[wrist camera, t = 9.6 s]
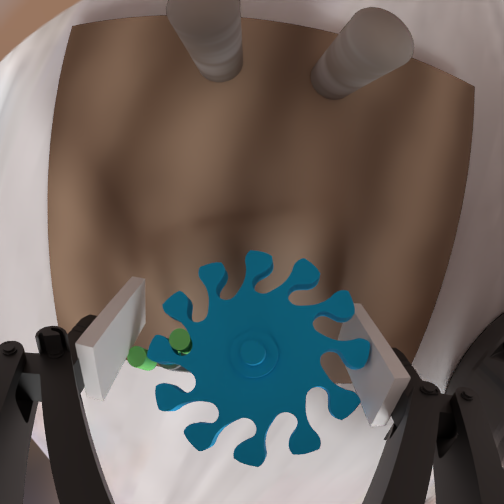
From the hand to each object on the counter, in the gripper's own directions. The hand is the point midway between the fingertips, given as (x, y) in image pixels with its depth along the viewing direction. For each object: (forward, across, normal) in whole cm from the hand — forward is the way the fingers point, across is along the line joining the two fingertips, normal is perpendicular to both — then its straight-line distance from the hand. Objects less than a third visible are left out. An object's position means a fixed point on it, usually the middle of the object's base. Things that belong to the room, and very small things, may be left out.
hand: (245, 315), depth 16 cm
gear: (+1, 0, 0) cm, 1 cm away
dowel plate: (+4, 0, -5) cm, 6 cm away
